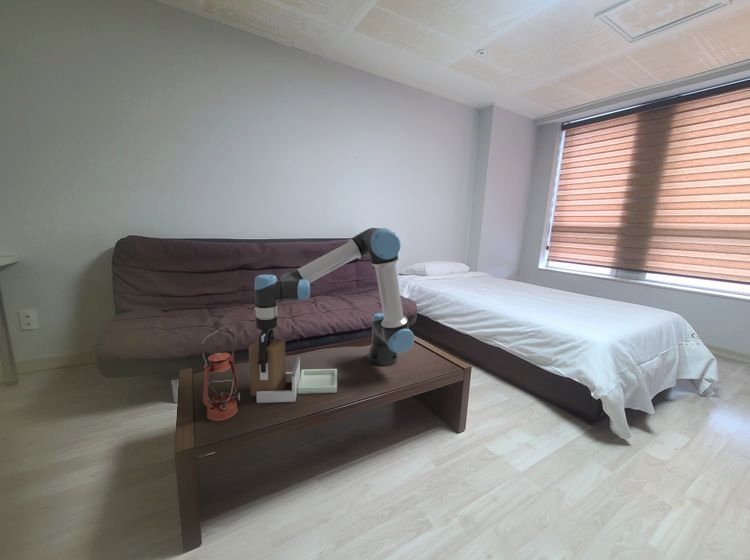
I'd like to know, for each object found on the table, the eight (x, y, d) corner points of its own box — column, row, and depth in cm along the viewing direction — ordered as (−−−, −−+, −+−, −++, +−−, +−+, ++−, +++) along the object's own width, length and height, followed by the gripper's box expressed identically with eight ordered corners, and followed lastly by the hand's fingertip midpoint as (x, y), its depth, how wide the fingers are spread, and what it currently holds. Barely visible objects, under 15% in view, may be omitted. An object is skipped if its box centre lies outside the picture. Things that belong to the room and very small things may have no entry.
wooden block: (274, 400, 111) (272, 348, 108) (249, 396, 113) (247, 346, 109) (287, 386, 121) (286, 338, 117) (264, 383, 123) (262, 336, 119)
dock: (300, 380, 126) (299, 356, 124) (295, 401, 111) (294, 374, 109) (266, 381, 124) (265, 357, 122) (256, 402, 109) (255, 375, 107)
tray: (336, 374, 133) (337, 368, 132) (336, 392, 118) (336, 387, 117) (302, 374, 131) (301, 369, 130) (297, 394, 116) (297, 388, 116)
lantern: (214, 403, 108) (209, 323, 103) (244, 403, 109) (240, 323, 104) (201, 421, 99) (194, 333, 93) (234, 420, 99) (229, 333, 94)
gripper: (263, 307, 123) (265, 358, 127) (246, 327, 99) (248, 388, 103) (282, 307, 124) (283, 357, 128) (270, 327, 100) (271, 387, 104)
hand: (268, 371), depth 115 cm, fingers closed on wooden block, 11 cm apart
